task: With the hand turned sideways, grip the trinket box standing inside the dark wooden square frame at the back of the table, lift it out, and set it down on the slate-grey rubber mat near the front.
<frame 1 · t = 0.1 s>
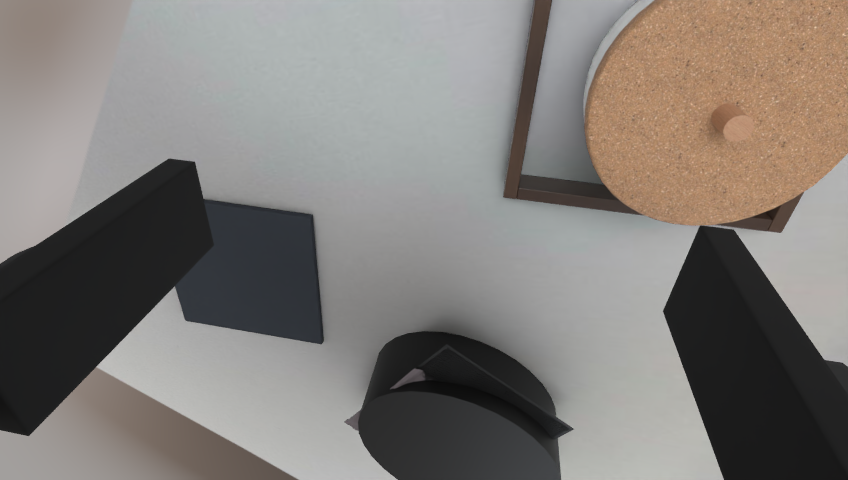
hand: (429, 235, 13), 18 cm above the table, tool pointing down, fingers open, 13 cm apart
tape dispenser: (471, 391, 43), on the table
dark wooden square frame: (675, 68, 26), on the table
mat: (243, 271, 40), on the table
trinket box: (674, 67, 26), resting in dark wooden square frame
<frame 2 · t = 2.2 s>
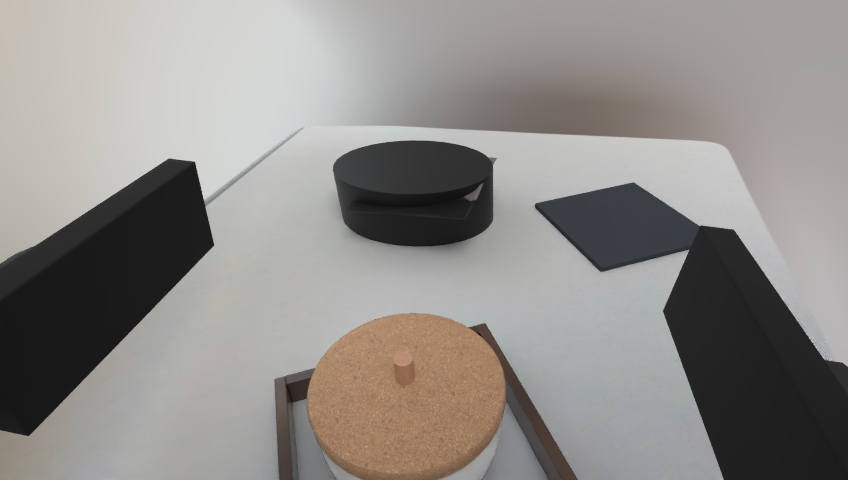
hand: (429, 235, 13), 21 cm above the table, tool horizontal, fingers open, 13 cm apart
tape dispenser: (414, 217, 55), on the table
dark wooden square frame: (416, 461, 30), on the table
mat: (618, 223, 51), on the table
trinket box: (416, 462, 30), resting in dark wooden square frame
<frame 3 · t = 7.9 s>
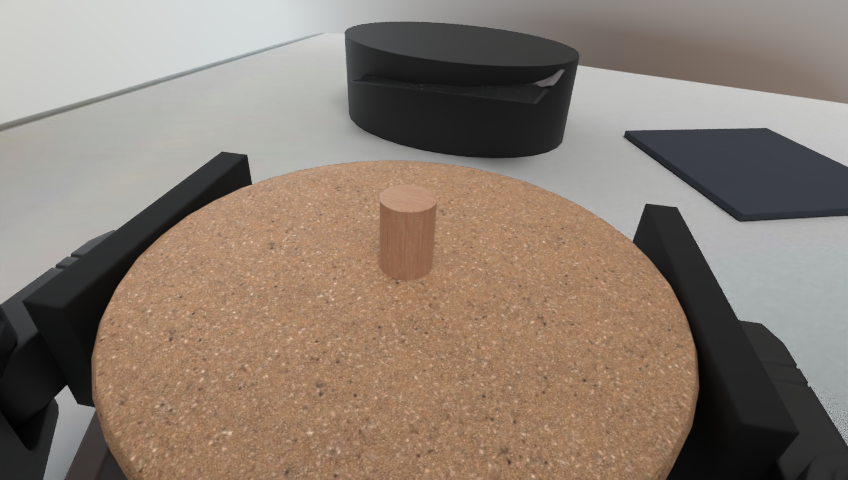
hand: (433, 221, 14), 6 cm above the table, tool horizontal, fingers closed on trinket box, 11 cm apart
tape dispenser: (448, 125, 39), on the table
mat: (754, 169, 34), on the table
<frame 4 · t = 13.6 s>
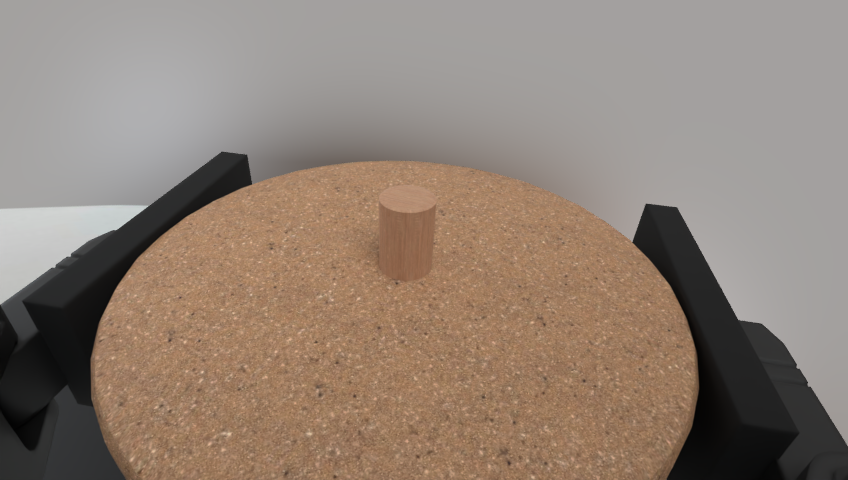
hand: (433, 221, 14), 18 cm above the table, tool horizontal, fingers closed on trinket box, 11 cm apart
tape dispenser: (103, 465, 26), on the table
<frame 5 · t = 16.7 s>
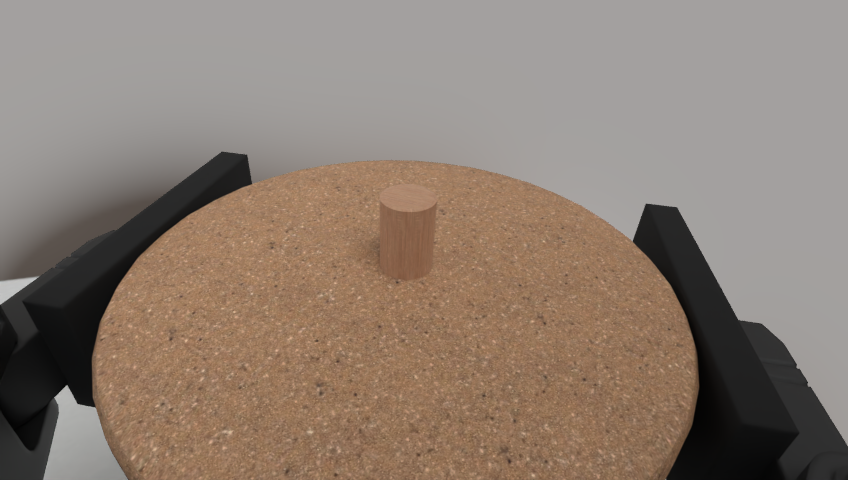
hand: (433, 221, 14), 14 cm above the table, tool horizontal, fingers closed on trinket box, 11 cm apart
when the fingers open (7 cm above the table, at t = 19.3 s): trinket box stays where it is, resting on mat.
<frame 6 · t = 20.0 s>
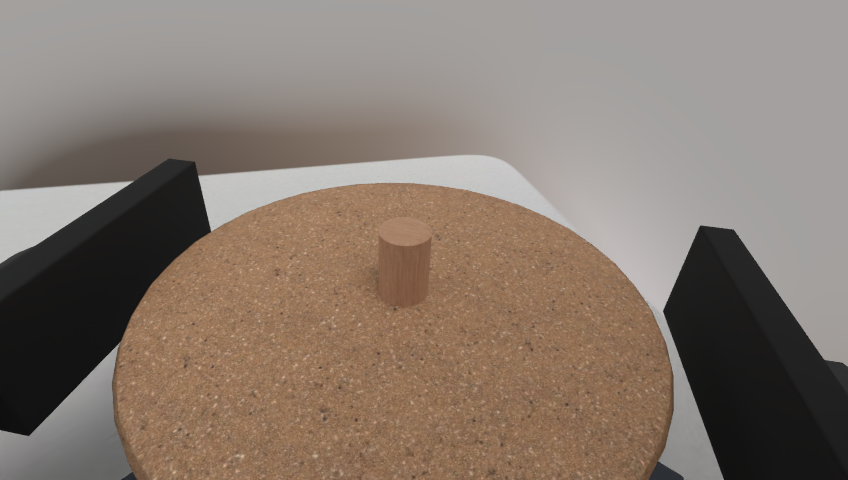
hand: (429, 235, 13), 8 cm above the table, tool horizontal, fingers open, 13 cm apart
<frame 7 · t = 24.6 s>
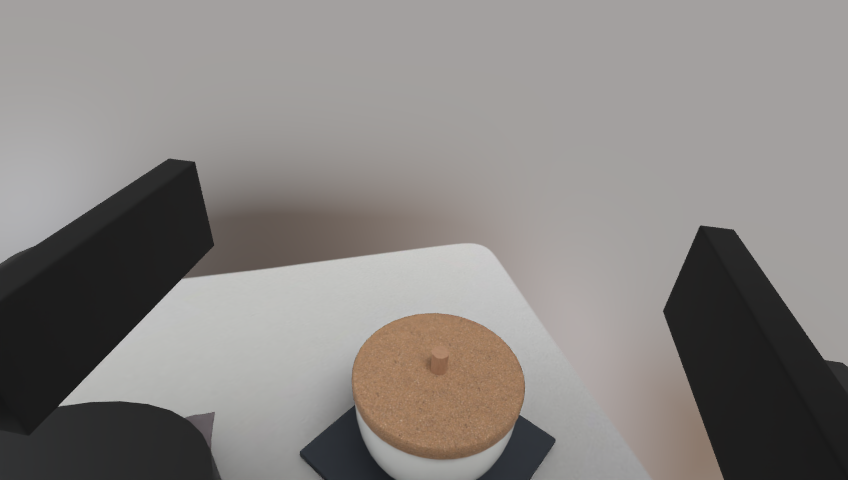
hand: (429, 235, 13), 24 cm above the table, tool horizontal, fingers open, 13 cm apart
mat: (430, 449, 34), on the table
trinket box: (430, 446, 34), resting on mat
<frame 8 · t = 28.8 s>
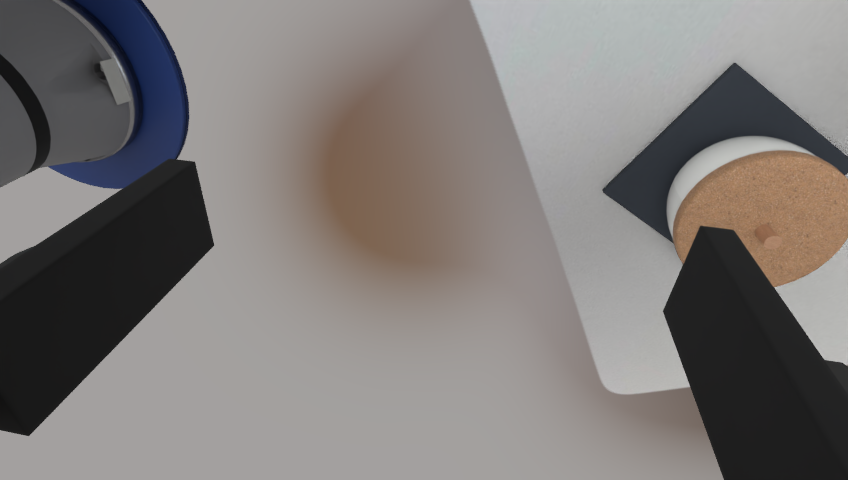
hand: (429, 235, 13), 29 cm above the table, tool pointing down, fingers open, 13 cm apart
mat: (720, 177, 39), on the table
trinket box: (722, 179, 39), resting on mat
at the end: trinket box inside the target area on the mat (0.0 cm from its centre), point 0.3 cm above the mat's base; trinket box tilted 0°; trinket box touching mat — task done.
